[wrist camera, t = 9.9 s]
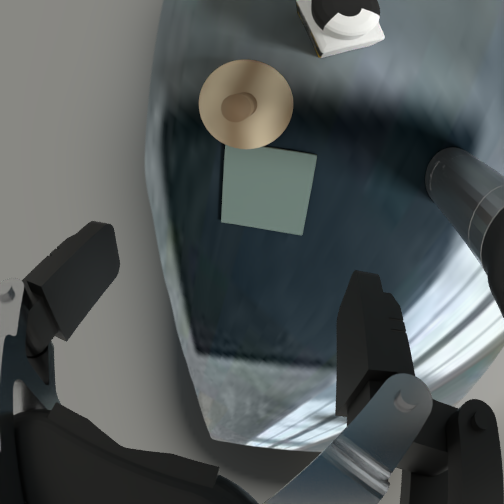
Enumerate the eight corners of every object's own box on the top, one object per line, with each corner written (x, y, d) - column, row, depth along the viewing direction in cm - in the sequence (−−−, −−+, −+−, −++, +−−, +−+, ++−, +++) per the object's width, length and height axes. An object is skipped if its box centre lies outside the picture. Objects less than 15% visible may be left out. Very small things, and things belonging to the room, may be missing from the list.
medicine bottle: (296, 10, 26) (291, -19, 17) (349, -3, 24) (367, -35, 14) (319, 58, 30) (324, 49, 20) (372, 45, 27) (400, 32, 17)
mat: (316, 154, 37) (317, 155, 36) (302, 233, 43) (302, 235, 43) (226, 141, 38) (225, 142, 37) (222, 220, 44) (221, 222, 44)
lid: (298, 65, 27) (296, 62, 22) (287, 152, 33) (283, 166, 28) (205, 58, 28) (186, 56, 23) (200, 142, 34) (182, 154, 29)
